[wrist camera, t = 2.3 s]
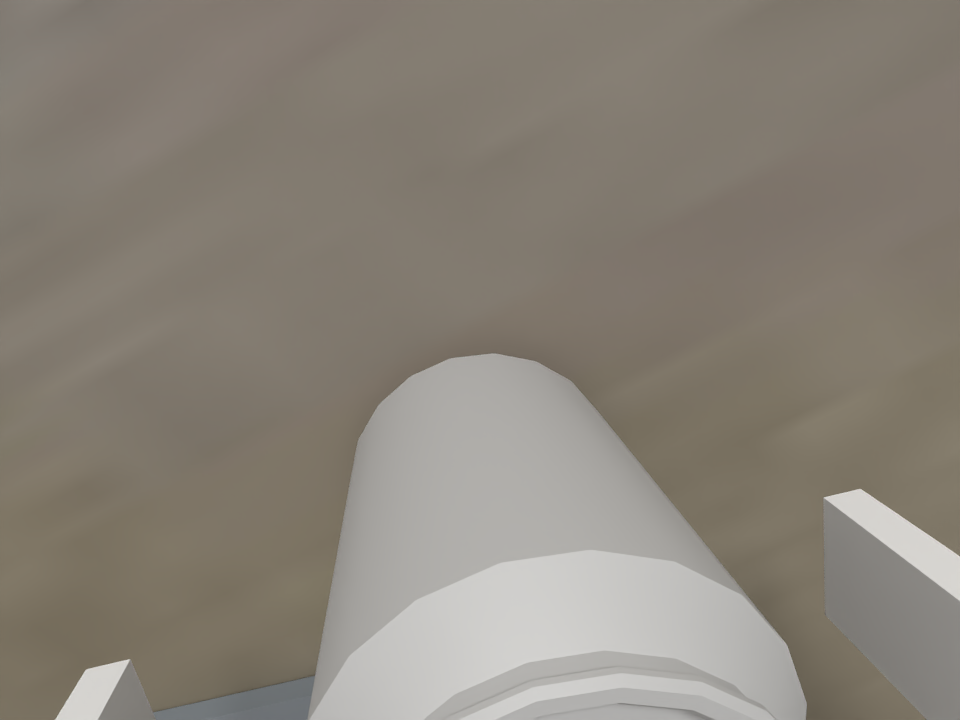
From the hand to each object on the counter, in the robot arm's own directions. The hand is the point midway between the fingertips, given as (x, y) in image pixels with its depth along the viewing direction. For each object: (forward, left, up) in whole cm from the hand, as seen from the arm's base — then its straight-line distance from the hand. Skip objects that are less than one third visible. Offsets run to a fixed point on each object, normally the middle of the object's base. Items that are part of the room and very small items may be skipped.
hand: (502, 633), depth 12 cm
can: (0, 0, -8) cm, 8 cm away
